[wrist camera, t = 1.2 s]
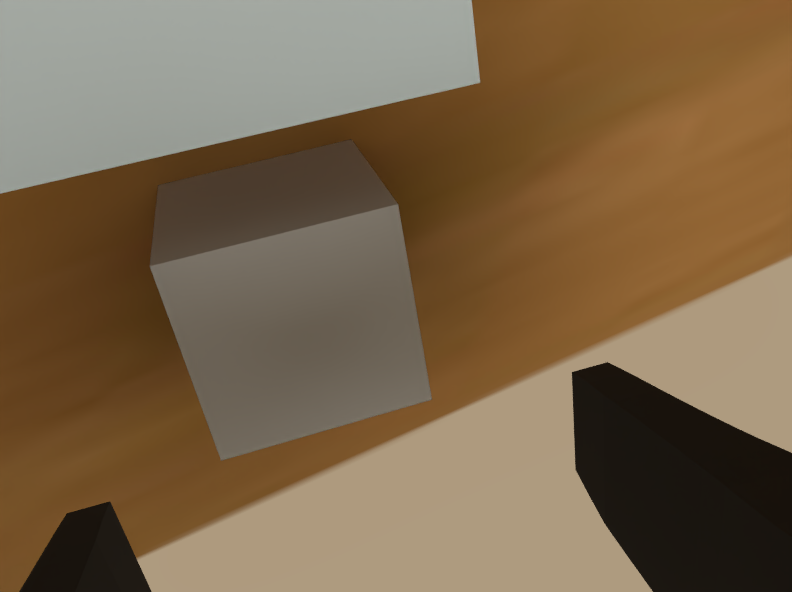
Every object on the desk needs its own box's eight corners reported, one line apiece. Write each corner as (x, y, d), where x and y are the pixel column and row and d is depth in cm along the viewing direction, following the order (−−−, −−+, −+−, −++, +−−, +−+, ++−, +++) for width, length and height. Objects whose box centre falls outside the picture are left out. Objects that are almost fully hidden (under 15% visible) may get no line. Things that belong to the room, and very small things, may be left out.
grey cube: (214, 348, 21) (221, 460, 17) (158, 183, 19) (149, 266, 14) (383, 302, 22) (431, 399, 17) (350, 138, 19) (397, 204, 15)
